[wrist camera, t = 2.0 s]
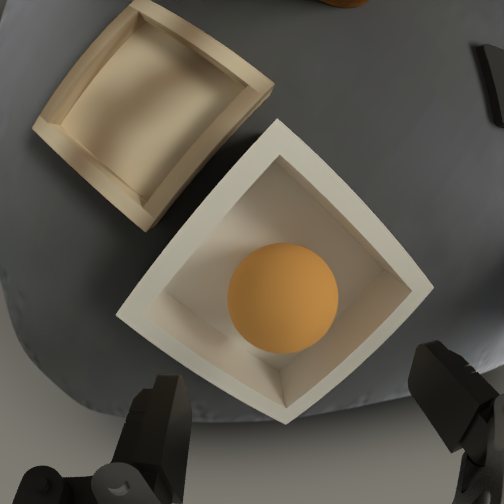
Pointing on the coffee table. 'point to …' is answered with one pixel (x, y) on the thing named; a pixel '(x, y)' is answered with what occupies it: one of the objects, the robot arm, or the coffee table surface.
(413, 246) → the coffee table surface
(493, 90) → the smart home device
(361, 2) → the disposable coffee cup
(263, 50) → the coffee table surface
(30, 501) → the robot arm
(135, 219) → the tray
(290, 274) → the ball
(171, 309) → the white square bin
